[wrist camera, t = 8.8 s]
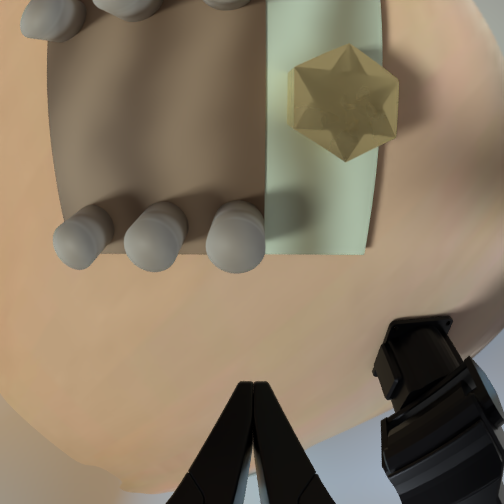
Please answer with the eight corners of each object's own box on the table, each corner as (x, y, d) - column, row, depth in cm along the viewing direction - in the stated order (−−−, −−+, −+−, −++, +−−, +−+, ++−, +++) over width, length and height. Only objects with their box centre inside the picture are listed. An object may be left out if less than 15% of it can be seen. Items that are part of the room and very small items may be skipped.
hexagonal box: (376, 58, 13) (399, 52, 11) (372, 155, 16) (393, 166, 13) (287, 48, 13) (294, 37, 11) (286, 149, 16) (292, 159, 14)
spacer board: (374, -21, 11) (398, -42, 8) (361, 249, 20) (379, 280, 16) (57, 4, 12) (24, -6, 8) (77, 248, 20) (51, 275, 17)
